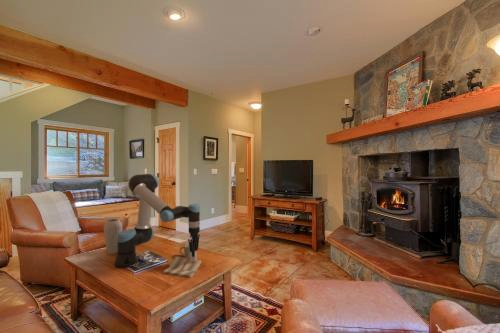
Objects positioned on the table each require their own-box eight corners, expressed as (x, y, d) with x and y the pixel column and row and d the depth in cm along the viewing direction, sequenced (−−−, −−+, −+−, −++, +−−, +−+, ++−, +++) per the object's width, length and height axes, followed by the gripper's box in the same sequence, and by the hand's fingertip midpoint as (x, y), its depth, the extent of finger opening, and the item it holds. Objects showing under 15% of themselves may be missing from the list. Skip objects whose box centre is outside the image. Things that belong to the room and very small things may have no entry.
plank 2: (182, 271, 160) (182, 269, 159) (188, 260, 168) (188, 258, 167) (195, 273, 158) (195, 271, 157) (201, 262, 165) (200, 260, 165)
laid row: (161, 274, 156) (161, 271, 156) (175, 263, 172) (175, 261, 172) (191, 279, 150) (191, 276, 150) (203, 267, 167) (203, 265, 167)
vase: (125, 251, 193) (125, 219, 193) (108, 257, 182) (108, 223, 182) (116, 248, 200) (116, 217, 200) (99, 253, 189) (100, 220, 189)
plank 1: (169, 269, 163) (168, 267, 162) (175, 257, 170) (174, 256, 169) (181, 270, 160) (180, 269, 159) (187, 259, 167) (186, 257, 166)
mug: (191, 260, 178) (192, 247, 178) (176, 259, 181) (176, 246, 180) (196, 256, 186) (196, 244, 186) (181, 255, 189) (182, 242, 189)
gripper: (194, 229, 157) (194, 265, 157) (203, 224, 170) (203, 257, 170) (184, 229, 158) (184, 263, 159) (193, 223, 172) (193, 256, 172)
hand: (194, 260), depth 164 cm, fingers closed
